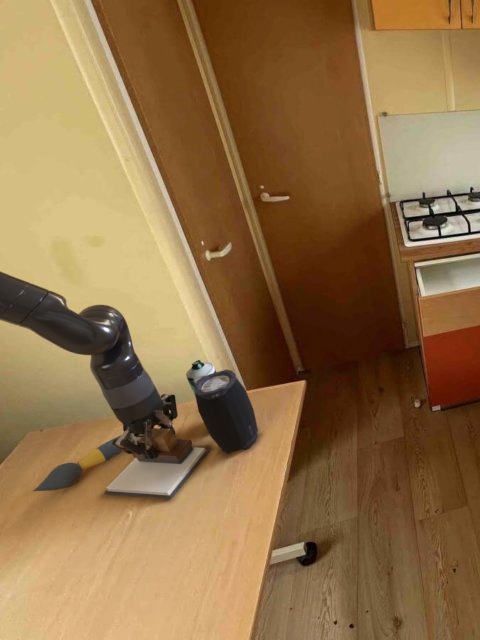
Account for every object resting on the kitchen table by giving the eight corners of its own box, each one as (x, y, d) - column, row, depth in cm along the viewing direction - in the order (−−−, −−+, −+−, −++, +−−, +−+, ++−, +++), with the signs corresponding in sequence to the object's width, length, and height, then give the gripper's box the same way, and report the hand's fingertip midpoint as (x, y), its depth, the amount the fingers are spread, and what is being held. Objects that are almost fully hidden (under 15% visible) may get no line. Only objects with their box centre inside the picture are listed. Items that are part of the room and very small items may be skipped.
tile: (104, 494, 90) (101, 490, 90) (150, 446, 101) (148, 442, 100) (170, 499, 89) (167, 495, 89) (210, 450, 100) (208, 446, 99)
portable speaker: (211, 447, 101) (181, 386, 92) (250, 420, 108) (226, 361, 99) (230, 464, 97) (201, 402, 88) (269, 435, 104) (246, 375, 95)
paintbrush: (139, 426, 106) (130, 412, 103) (151, 433, 104) (143, 419, 102) (36, 497, 90) (24, 483, 87) (49, 506, 88) (37, 491, 86)
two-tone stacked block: (180, 465, 95) (168, 442, 91) (137, 462, 95) (123, 439, 92) (195, 448, 98) (183, 425, 95) (153, 445, 99) (140, 423, 96)
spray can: (230, 429, 105) (203, 369, 96) (206, 432, 104) (176, 371, 95) (239, 412, 110) (214, 353, 101) (216, 415, 109) (189, 355, 100)
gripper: (143, 368, 94) (171, 421, 102) (81, 419, 82) (118, 476, 90) (175, 370, 94) (200, 423, 102) (117, 421, 81) (152, 478, 89)
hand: (162, 447), depth 96 cm, fingers closed on two-tone stacked block, 4 cm apart
